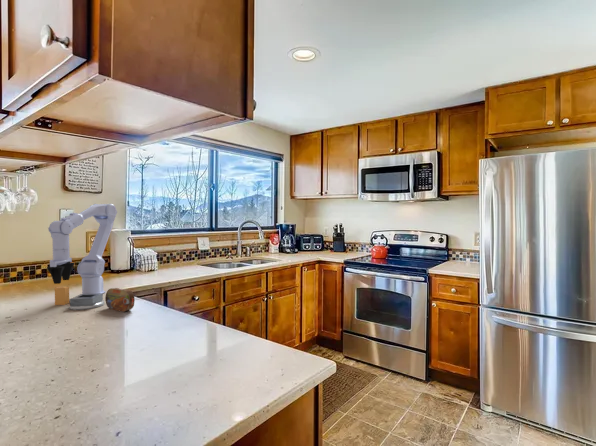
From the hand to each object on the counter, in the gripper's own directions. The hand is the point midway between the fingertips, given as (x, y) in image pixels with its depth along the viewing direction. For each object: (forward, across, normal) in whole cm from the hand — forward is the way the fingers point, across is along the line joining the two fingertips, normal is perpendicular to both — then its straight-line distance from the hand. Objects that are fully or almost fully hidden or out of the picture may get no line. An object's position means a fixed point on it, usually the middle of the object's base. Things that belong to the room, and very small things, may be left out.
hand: (61, 281), depth 140 cm
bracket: (+10, +5, +11) cm, 15 cm away
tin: (+10, +14, +26) cm, 31 cm away
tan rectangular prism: (+10, -1, 0) cm, 10 cm away
